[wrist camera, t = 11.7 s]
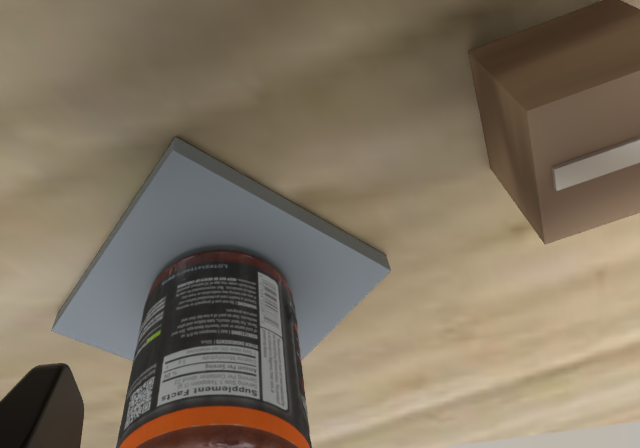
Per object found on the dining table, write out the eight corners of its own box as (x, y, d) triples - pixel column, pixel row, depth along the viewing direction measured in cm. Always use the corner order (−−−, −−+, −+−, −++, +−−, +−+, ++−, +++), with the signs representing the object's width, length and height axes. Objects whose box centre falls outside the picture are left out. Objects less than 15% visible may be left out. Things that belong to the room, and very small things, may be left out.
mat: (175, 136, 20) (172, 150, 19) (386, 255, 24) (391, 270, 24) (57, 313, 24) (51, 330, 23) (255, 388, 28) (256, 405, 28)
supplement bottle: (276, 356, 26) (295, 655, 17) (140, 342, 24) (77, 660, 15) (310, 253, 22) (357, 554, 13) (155, 231, 21) (88, 549, 12)
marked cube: (467, 50, 20) (529, 113, 15) (611, -5, 19) (715, 46, 15) (490, 167, 22) (547, 247, 18) (615, 122, 22) (703, 194, 18)
